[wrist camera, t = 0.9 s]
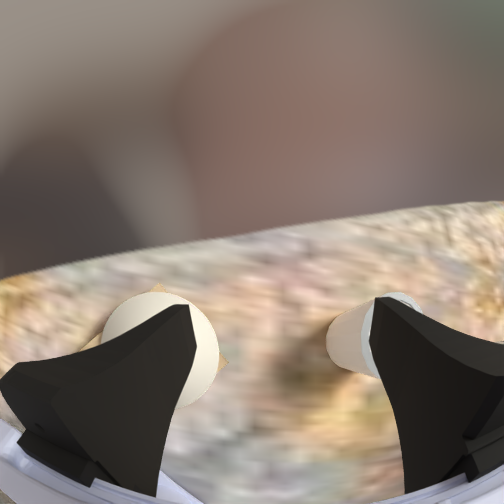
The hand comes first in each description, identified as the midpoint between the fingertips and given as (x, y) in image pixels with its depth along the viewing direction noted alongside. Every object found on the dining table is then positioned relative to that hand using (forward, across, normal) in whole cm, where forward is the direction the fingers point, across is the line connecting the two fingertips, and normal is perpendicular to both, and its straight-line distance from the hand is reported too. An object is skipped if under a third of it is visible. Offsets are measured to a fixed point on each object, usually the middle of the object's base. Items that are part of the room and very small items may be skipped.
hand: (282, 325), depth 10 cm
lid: (+6, +9, +6) cm, 13 cm away
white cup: (+12, -6, +10) cm, 17 cm away
